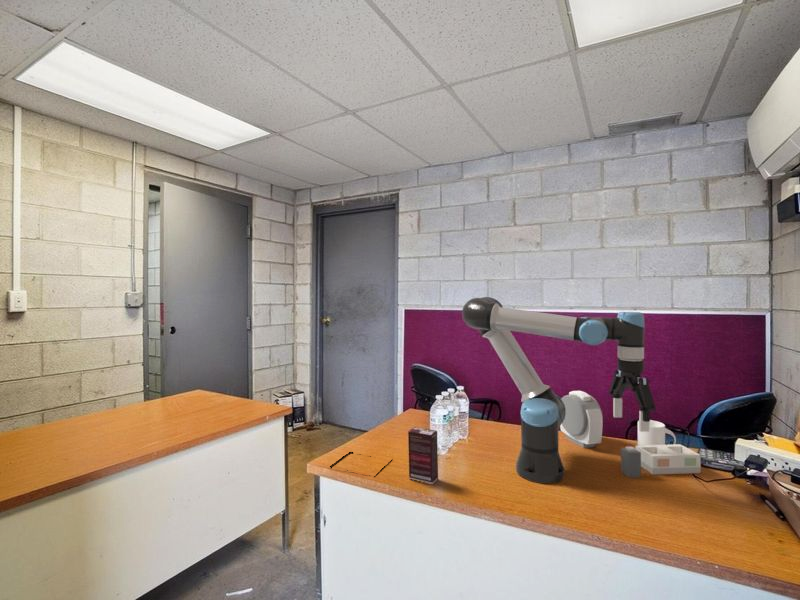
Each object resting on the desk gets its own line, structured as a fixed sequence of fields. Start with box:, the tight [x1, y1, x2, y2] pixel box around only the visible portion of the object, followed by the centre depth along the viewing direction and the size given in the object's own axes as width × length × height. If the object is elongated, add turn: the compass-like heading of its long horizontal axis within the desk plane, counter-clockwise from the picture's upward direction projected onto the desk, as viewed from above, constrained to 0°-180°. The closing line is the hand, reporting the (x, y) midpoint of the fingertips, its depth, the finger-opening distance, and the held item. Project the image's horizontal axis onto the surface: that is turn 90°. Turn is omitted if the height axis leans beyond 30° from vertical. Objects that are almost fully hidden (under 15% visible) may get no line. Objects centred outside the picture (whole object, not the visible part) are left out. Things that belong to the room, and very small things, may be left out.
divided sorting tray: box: [634, 443, 702, 475], centre depth 132 cm, size 16×9×6 cm, turn 92°
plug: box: [620, 446, 642, 478], centre depth 128 cm, size 4×4×9 cm
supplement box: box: [407, 426, 439, 485], centre depth 127 cm, size 9×5×16 cm, turn 61°
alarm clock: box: [559, 390, 604, 449], centre depth 156 cm, size 18×8×20 cm, turn 14°
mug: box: [637, 419, 677, 445], centre depth 145 cm, size 9×12×11 cm
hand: (630, 423), depth 128 cm, fingers open, 13 cm apart
